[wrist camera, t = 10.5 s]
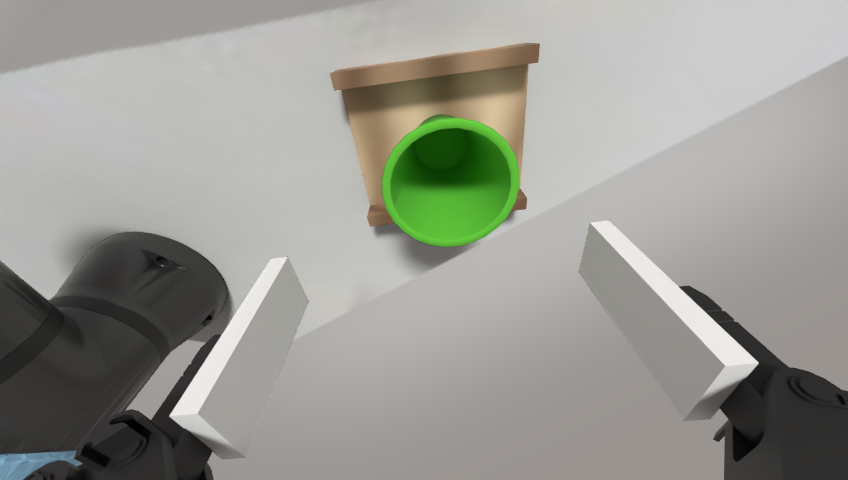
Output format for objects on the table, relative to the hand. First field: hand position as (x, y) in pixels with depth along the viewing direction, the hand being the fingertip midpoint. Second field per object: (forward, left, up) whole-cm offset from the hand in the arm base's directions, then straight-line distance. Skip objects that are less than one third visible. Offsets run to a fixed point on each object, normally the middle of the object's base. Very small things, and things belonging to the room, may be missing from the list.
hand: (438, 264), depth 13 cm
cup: (+1, 0, -19) cm, 19 cm away
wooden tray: (+1, 0, -19) cm, 19 cm away
